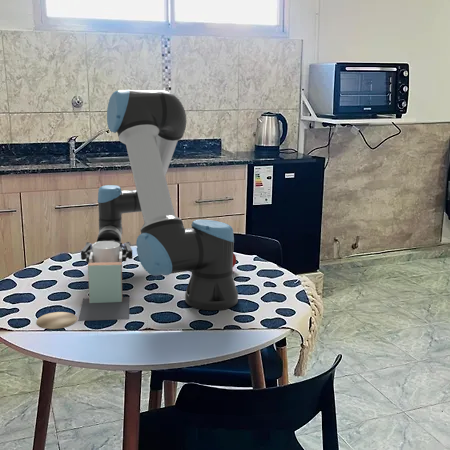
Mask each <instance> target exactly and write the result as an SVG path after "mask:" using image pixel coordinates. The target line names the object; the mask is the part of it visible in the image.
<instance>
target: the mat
mask: <svg viewBox="0 0 450 450" xmlns="http://www.w3.org/2000/svg"><path fill="white" fill-rule="evenodd" d="M130 299H131V298H130V296H122V302H107V303H89V297H87V298H85V297H83V298H82V302H81V306H80V310H79V314H78V318H77V321H78V322H89V321H115V320H130V306H131V305H130V303H131V302H130V301H131V300H130Z"/></svg>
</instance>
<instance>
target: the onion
mask: <svg viewBox="0 0 450 450" xmlns="http://www.w3.org/2000/svg"><path fill="white" fill-rule="evenodd" d="M236 263H237V255H235V253H234V252H233V268H234V267H235V266H236Z"/></svg>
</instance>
